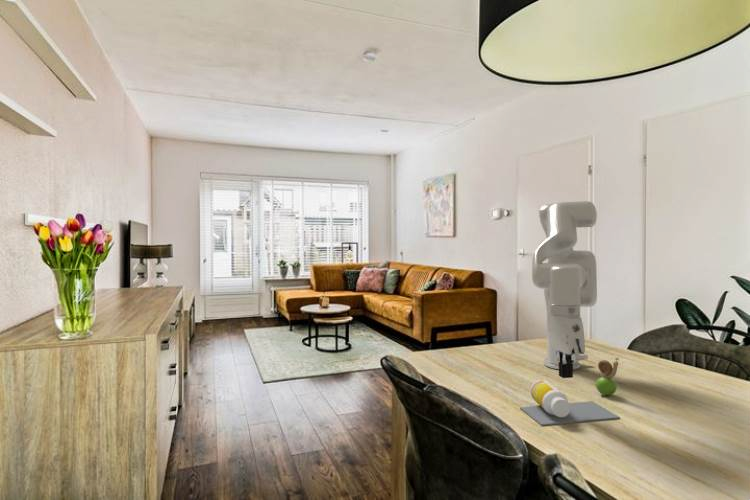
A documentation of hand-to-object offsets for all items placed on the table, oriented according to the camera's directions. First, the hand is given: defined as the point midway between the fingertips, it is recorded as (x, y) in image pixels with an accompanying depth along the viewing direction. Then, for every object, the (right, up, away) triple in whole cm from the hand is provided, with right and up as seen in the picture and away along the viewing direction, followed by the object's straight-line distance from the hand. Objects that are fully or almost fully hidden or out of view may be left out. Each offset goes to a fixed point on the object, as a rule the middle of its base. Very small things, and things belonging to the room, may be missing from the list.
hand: (565, 376), depth 116 cm
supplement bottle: (-5, -5, +5) cm, 9 cm away
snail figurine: (+17, -9, +10) cm, 21 cm away
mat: (0, -9, -2) cm, 9 cm away
